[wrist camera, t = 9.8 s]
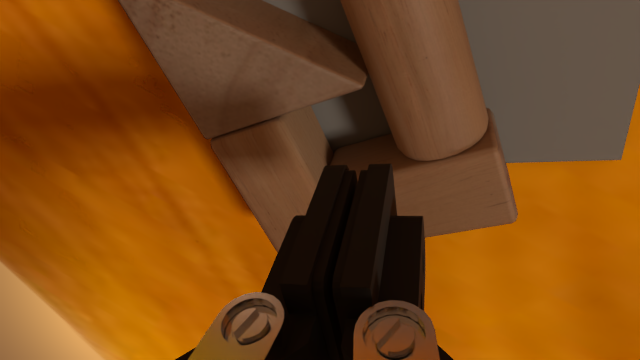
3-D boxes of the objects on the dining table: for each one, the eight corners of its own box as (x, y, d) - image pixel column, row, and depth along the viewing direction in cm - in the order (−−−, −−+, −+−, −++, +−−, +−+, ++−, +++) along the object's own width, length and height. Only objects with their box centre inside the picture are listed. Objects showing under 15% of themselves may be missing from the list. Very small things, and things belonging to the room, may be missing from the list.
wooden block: (300, 217, 24) (88, -159, 15) (508, 174, 19) (368, -384, 11) (281, 266, 21) (6, -166, 12) (521, 227, 16) (343, -474, 8)
